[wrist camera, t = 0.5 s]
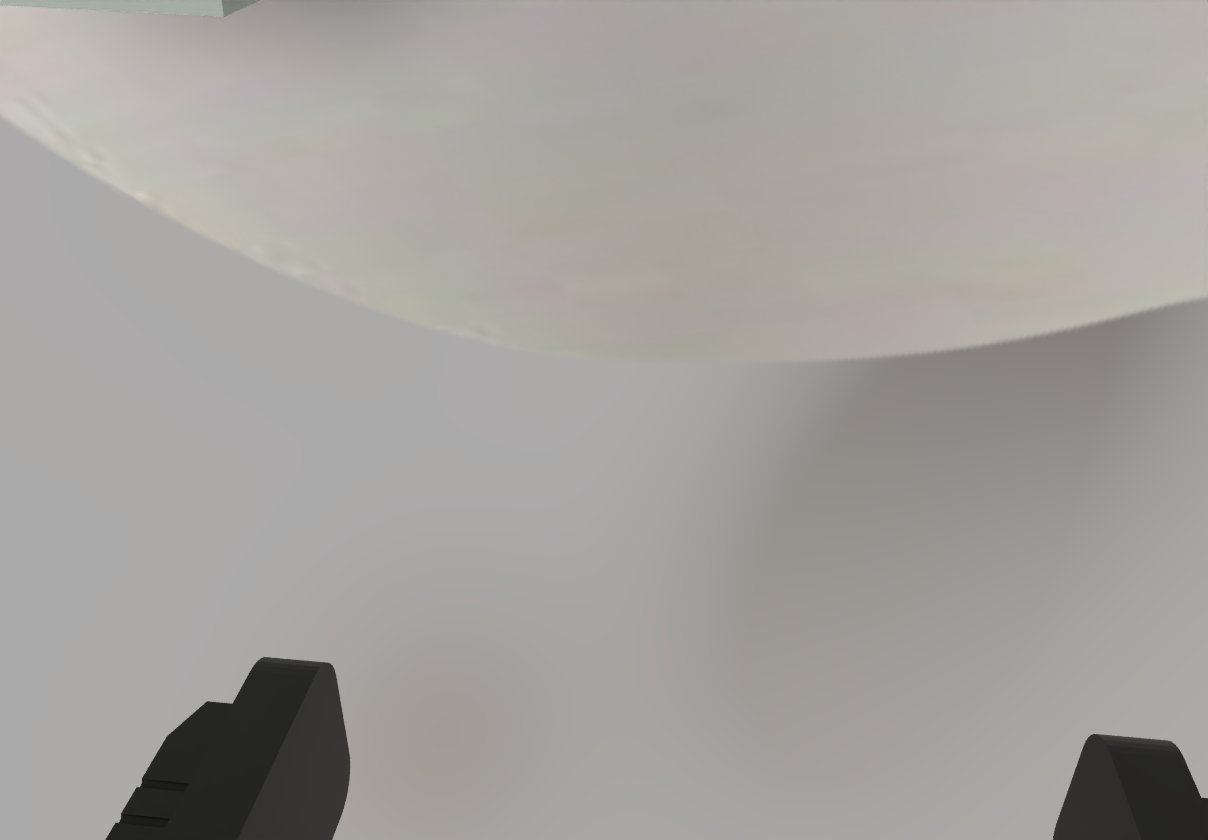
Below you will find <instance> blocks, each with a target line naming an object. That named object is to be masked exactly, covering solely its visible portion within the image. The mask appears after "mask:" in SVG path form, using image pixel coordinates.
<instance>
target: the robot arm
mask: <svg viewBox="0 0 1208 840" xmlns="http://www.w3.org/2000/svg"><path fill="white" fill-rule="evenodd" d="M349 777H350V755H349V748H348V743H347V737H346V731H345V725H344V719H343V714H342V708H341V702H340V696H339V690H338V684H337V679H336V674H335V670H334V668H333V666H332V665H331V664H330V663H325V662H314V661H302V660H292V659H291V660H290V659H280V658H269V657H263V658H261V659H260V660H258V661H257V662H256V664H255V665H254V666H253V668H252V670H251V671H250V673H249V675H248V676H247V678H246V680H245V682H244V684H243V686H242V687H241V689H240V691H239V693H238V695H237V697H236V699H235V700H234V702H233V704H228V703H219V702H218V703H217V702H206V703H205V704H204V705H202V706H201V707H200V708H199V709H198V710H197V711H196V712H194V713H193V714H192V715H191V716H190V717H189V718H188V719H186V720H185V721H184V722H183V723H182V724H181V725H180V726H178V727H177V728H176V729H175V730H174V731H173V732H171V734H169V735H168V736H167V737H166V739H165V741H164V742H163V744H162V746H161V747H160V749H159V751H158V752H157V754H156V756H155V757H154V759H153V761H152V762H151V764H150V766H149V768H148V770H147V771H146V773H145V774H144V776H143V778H142V784H141V786H140V787H137V788H136V789H135V791H134V793H133V794H132V796H131V798H130V800H129V801H128V803H127V805H126V806H125V808H124V810H123V811H122V813H121V820H120V822H119V823H115V825H114V826H113V828H112V830H111V832H110V833H109V835H108V837H107V838H106V840H332V838H333V836H334V833H335V831H336V828H337V825H338V823H339V820H340V818H341V815H342V812H343V809H344V805H345V801H346V797H347V792H348V786H349ZM1053 840H1208V798H1201V796H1200V794H1199V792H1198V789H1197V787H1196V785H1195V782H1194V780H1193V778H1192V776H1191V773H1190V771H1189V769H1188V766H1187V764H1186V762H1185V759H1184V758H1183V755H1182V754H1181V752H1180V750H1179V749H1178V747H1177V746H1176V745H1175V744H1174V743H1172V742H1171V741H1166V740H1155V739H1144V738H1133V737H1122V736H1111V735H1099V734H1093V735H1091V736H1090V737H1088V739H1087V740H1086V742H1085V744H1084V747H1083V749H1082V752H1081V755H1080V758H1079V761H1078V764H1077V767H1076V769H1075V772H1074V775H1073V778H1072V781H1071V784H1070V787H1069V789H1068V793H1067V795H1066V798H1065V801H1064V804H1063V807H1062V810H1061V812H1060V815H1059V818H1058V821H1057V824H1056V827H1055V831H1054V836H1053Z"/></svg>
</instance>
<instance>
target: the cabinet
mask: <svg viewBox="0 0 1208 840" xmlns="http://www.w3.org/2000/svg"><path fill="white" fill-rule="evenodd" d="M257 1H259V0H0V5H2V6H21V7H41V8H60V9H80V10H99V11H119V12H138V13H158V14H177V15H197V16H216V17H225V16H227V15H229V14H231V13H233V12H235V11H237V10H240V9H242V8H244V7H246V6H248V5H250V4H252V3H254V2H257Z"/></svg>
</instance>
